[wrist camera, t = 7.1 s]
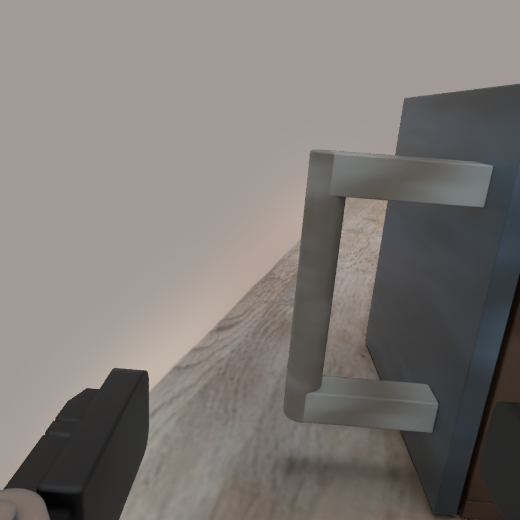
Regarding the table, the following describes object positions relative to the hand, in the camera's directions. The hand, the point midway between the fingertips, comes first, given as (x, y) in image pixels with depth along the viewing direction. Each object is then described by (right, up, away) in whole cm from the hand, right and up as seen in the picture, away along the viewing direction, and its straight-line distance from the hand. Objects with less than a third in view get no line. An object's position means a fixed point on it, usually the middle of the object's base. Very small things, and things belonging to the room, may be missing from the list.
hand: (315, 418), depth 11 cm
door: (+4, -5, +17) cm, 18 cm away
